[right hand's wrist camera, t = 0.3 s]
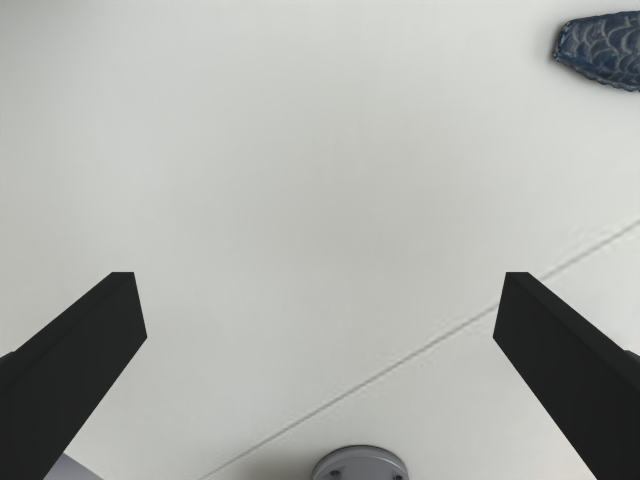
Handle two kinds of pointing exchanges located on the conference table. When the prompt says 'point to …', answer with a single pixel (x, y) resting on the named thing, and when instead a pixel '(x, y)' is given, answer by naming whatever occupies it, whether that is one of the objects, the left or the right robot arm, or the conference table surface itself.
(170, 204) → the conference table surface
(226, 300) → the conference table surface
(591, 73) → the fish model
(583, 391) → the right robot arm
